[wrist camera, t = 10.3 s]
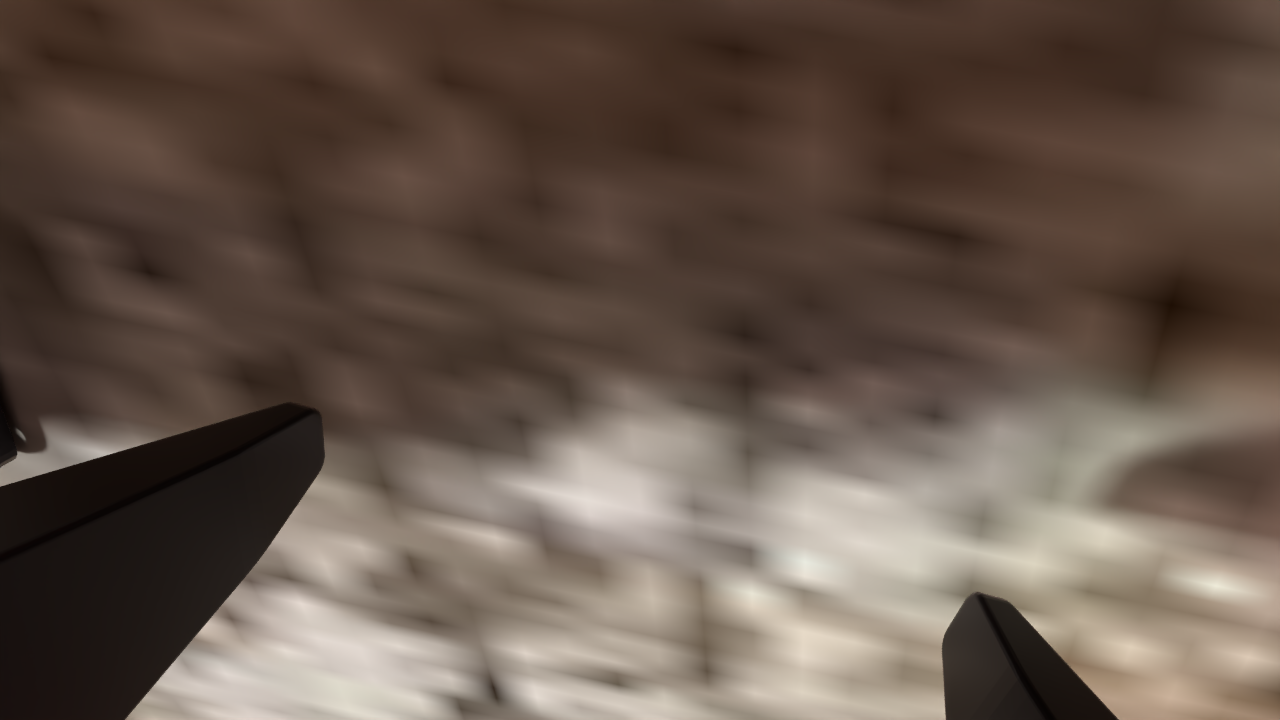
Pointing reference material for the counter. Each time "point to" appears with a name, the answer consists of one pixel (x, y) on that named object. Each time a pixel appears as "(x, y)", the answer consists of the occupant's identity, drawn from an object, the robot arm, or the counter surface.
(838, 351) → the counter surface
